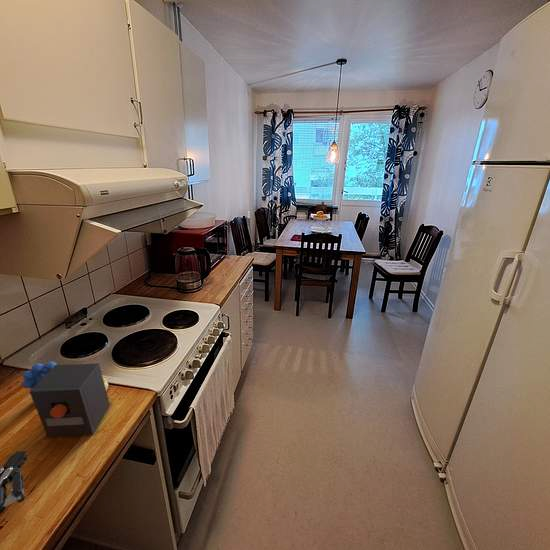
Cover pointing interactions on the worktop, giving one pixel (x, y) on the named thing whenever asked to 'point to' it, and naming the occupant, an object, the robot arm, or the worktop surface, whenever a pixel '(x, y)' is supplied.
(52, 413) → the power button
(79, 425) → the push button control box
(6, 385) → the worktop surface
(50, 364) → the grapes
